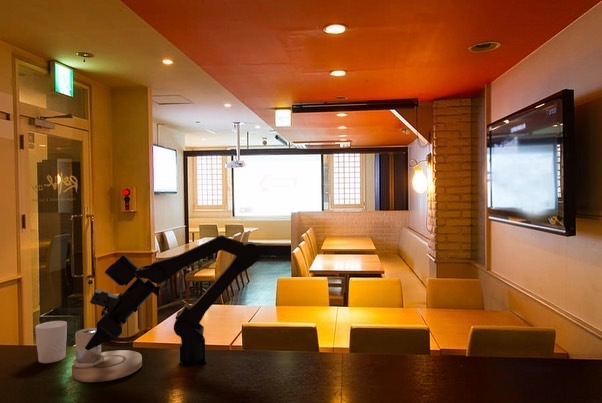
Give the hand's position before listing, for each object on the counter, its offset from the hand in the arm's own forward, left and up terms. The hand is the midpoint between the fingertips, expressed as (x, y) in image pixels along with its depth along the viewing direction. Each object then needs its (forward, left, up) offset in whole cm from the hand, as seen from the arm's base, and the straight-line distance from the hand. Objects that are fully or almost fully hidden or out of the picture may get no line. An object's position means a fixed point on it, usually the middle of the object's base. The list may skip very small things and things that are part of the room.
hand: (88, 343), depth 114 cm
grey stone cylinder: (0, 0, -5) cm, 5 cm away
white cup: (+11, -16, -8) cm, 21 cm away
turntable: (-5, 0, -8) cm, 9 cm away
